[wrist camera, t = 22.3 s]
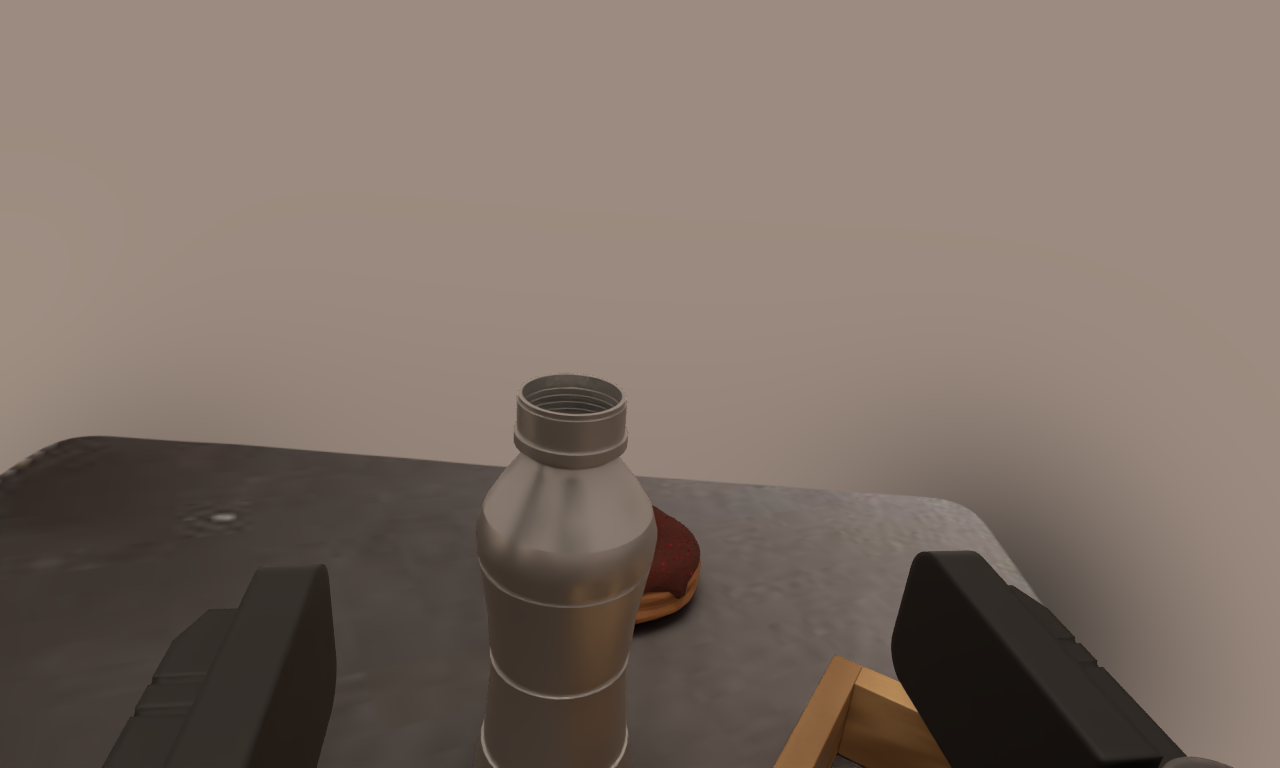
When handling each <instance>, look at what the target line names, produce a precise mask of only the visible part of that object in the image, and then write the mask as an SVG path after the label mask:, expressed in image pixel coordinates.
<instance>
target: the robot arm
mask: <svg viewBox="0 0 1280 768" xmlns="http://www.w3.org/2000/svg"><path fill="white" fill-rule="evenodd" d="M891 652H892V660H893V665H894V669H895V672H896V675H897V677H898V679H899V681H900V683H901V685H902V687H903V688H904V690H905V692H906V693H907V695H908V696H909V698H910V700H911V701H912V703H913V705H914V706H915V708H916V710H917V711H918V713H919V715H920V716H921V718H922V720H923V721H924V723H925V725H926V726H927V728H928V730H929V731H930V733H931V735H932V736H933V738H934V739H935V741H936V743H937V744H938V746H939V748H940V749H941V751H942V753H943V754H944V756H945V758H946V759H947V761H948V763H949V764H950V766H951V768H1233V767H1231V766H1228V765H1226V764H1223V763H1219V762H1217V761H1213V760H1209V759H1205V758H1198V757H1187V756H1186V755H1185V754H1184V753H1183V752H1182V750H1181V749H1180V748H1179V747H1178V746H1177V745H1176V744H1175V743H1174V742H1173V741H1172V740H1171V739H1170V738H1169V737H1168V736H1167V734H1165V732H1164V731H1163V730H1162V729H1161V728H1160V727H1159V726H1158V725H1157V724H1156V723H1155V722H1154V721H1153V720H1152V719H1151V717H1150V716H1149V715H1148V714H1147V713H1146V712H1145V711H1144V710H1143V709H1142V708H1141V707H1140V706H1139V705H1138V704H1137V703H1136V702H1135V701H1134V699H1133V698H1132V697H1131V696H1130V695H1129V694H1128V693H1127V692H1126V691H1125V690H1124V689H1123V688H1122V687H1121V686H1120V685H1119V683H1118V682H1117V681H1116V680H1115V679H1114V678H1113V677H1112V676H1111V675H1110V674H1109V673H1108V672H1107V671H1106V670H1105V669H1104V668H1103V667H1098V665H1097V660H1096V659H1095V658H1094V657H1093V656H1092V655H1091V654H1090V653H1089V652H1088V651H1087V649H1086V648H1085V647H1084V646H1083V645H1082V644H1081V643H1076V642H1075V637H1074V636H1073V635H1072V634H1071V633H1070V631H1069V630H1068V629H1067V628H1066V627H1065V626H1064V625H1063V624H1062V623H1061V622H1060V621H1059V620H1058V619H1057V618H1056V617H1055V616H1054V614H1053V613H1052V612H1051V611H1050V610H1049V609H1048V608H1046V607H1045V606H1043V605H1042V604H1040V603H1038V602H1037V601H1035V600H1034V599H1032V598H1031V597H1029V596H1028V595H1026V594H1025V593H1023V592H1022V591H1020V590H1019V589H1017V588H1016V587H1014V586H1013V585H1007V584H1006V582H1005V581H1004V580H1003V579H1002V578H1001V577H1000V576H999V575H998V574H997V573H996V571H995V570H994V569H993V568H992V567H991V566H990V565H989V564H988V563H987V562H986V560H985V559H984V558H983V557H982V556H981V555H980V554H978V553H976V552H974V551H930V552H921V553H919V554H917V555H916V557H915V558H914V560H913V562H912V565H911V568H910V572H909V575H908V579H907V583H906V586H905V590H904V594H903V597H902V601H901V605H900V609H899V612H898V616H897V620H896V623H895V627H894V631H893V635H892V642H891ZM335 686H336V650H335V639H334V628H333V618H332V607H331V596H330V586H329V576H328V571H327V568H326V566H325V565H324V564H311V565H269V566H260V567H259V568H258V569H257V570H256V572H255V574H254V576H253V578H252V580H251V582H250V584H249V586H248V589H247V591H246V593H245V595H244V597H243V599H242V601H241V603H240V605H239V607H238V609H212V610H208V611H207V612H206V613H204V614H203V615H202V616H201V617H200V618H199V619H198V620H196V621H195V622H194V623H193V624H192V625H191V626H189V627H188V628H187V629H186V630H185V631H184V632H183V633H181V634H180V635H179V636H178V637H177V638H176V639H175V640H173V642H172V643H171V645H170V647H169V649H168V650H167V652H166V654H165V656H164V658H163V659H162V661H161V663H160V665H159V667H158V668H157V670H156V672H155V674H154V675H153V677H152V684H151V685H148V686H147V688H146V690H145V692H144V693H143V695H142V697H141V699H140V700H139V702H138V704H137V706H136V708H135V714H134V717H130V718H129V720H128V722H127V724H126V725H125V727H124V729H123V731H122V733H121V734H120V736H119V738H118V740H117V741H116V743H115V745H114V747H113V749H112V750H111V752H110V754H109V756H108V758H107V759H106V761H105V763H104V765H103V766H102V768H317V764H318V760H319V756H320V753H321V749H322V745H323V741H324V737H325V734H326V730H327V726H328V722H329V719H330V715H331V711H332V706H333V701H334V695H335Z"/></svg>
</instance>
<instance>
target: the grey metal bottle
mask: <svg viewBox="0 0 1280 768" xmlns="http://www.w3.org/2000/svg"><path fill="white" fill-rule="evenodd" d="M626 407H627V400H626V394H625V392H624V391H623V389H622V388H621V387H619V386H618V385H617V384H615V383H613V382H611V381H608V380H605V379H603V378H599V377H595V376H591V375H584V374H575V373H557V374H548V375H542V376H538V377H535V378H532V379H529V380H527V381H526V382H524V383H523V384H522V385H521V386H520V387H519V389H518V395H517V421H516V423H515V425H514V443H515V445H516V447H517V448H518V449H519V451H520V452H521V453H520V454H519V455H518V456H517V457H516V458H515V459H514V460H513V461H512V462H511V464H510V465H509V466H508V467H507V468H506V469H505V470H504V471H503V473H502V474H501V475H500V476H499V478H498V479H497V481H496V482H495V483H494V485H493V486H492V487H491V489H490V490H489V492H488V493H487V495H486V497H485V500H484V502H483V505H482V508H481V511H480V514H479V516H478V519H477V522H476V539H477V553H478V556H479V564H480V570H481V576H482V582H483V588H484V594H485V600H486V605H487V611H488V625H489V645H490V666H491V669H490V677H489V685H488V693H487V702H486V710H485V718H484V721H483V724H482V728H481V731H480V734H479V738H478V741H477V747H476V752H475V757H474V763H473V768H632V765H631V748H630V740H629V735H628V729H627V724H626V672H627V666H628V661H629V651H630V649H631V643H632V637H633V631H634V625H635V619H636V616H637V612H638V609H639V606H640V602H641V599H642V595H643V592H644V588H645V585H646V581H647V578H648V575H649V571H650V568H651V563H652V561H653V558H654V552H655V547H656V542H657V526H656V521H655V516H654V512H653V508H652V505H651V502H650V499H649V498H648V496H647V495H646V493H645V491H644V490H643V488H642V486H641V485H640V483H639V482H638V480H637V479H636V477H635V476H634V474H633V473H632V472H631V470H630V469H629V468H628V467H627V465H626V464H625V463H624V462H623V461H622V459H621V458H620V457H619V456H621V455H622V454H623V453H624V451H625V450H626V448H627V441H628V431H627V428H626V426H625V424H626Z"/></svg>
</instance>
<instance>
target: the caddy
mask: <svg viewBox="0 0 1280 768" xmlns="http://www.w3.org/2000/svg"><path fill="white" fill-rule="evenodd" d="M837 753H838V754H840V755H842V756H844V757H846V758H848V759H850V760H852V761H854V762H856V763H858V764H860V765H862V766H864V767H866V768H951V766H950V764H949V763H948V761H947V759H946V758H945V756H944V754H943V753H942V751H941V749H940V748H939V746H938V744H937V743H936V741H935V739H934V738H933V736H932V735H931V733H930V731H929V730H928V728H927V726H926V725H925V723H924V721H923V720H922V718H921V716H920V715H919V713H918V711H917V710H916V708H915V706H914V705H913V703H912V701H911V700H910V698H909V696H908V695H907V693H906V692H905V690H904V688H903V687H902V685H901V683H900V682H898V681H896V680H893V679H891V678H889V677H887V676H884V675H882V674H880V673H878V672H875V671H873V670H871V669H868V668H866V667H862V666H861V665H858V664H856V663H854V662H852V661H849V660H847V659H845V658H843V657H840V656H838V655H834V657H833V659H832V660H831V662H830V664H829V666H828V668H827V670H826V671H825V673H824V675H823V677H822V679H821V681H820V682H819V684H818V686H817V688H816V690H815V692H814V693H813V695H812V697H811V699H810V701H809V703H808V704H807V706H806V708H805V710H804V712H803V713H802V715H801V717H800V719H799V721H798V723H797V724H796V726H795V728H794V730H793V732H792V734H791V735H790V737H789V739H788V741H787V743H786V745H785V746H784V748H783V750H782V752H781V754H780V756H779V757H778V759H777V761H776V763H775V765H774V766H773V768H831V766H832V763H833V761H834V759H835V757H836V755H837Z"/></svg>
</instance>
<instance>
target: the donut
mask: <svg viewBox="0 0 1280 768" xmlns="http://www.w3.org/2000/svg"><path fill="white" fill-rule="evenodd" d="M652 508H653V512H654V516H655V521H656V526H657V542H656V547H655V552H654V558H653V561H652V563H651V568H650V571H649V575H648V578H647V581H646V585H645V588H644V592H643V595H642V599H641V602H640V606H639V609H638V612H637V616H636V619H635V624H639V623H643V622H647V621H651V620H655V619H658V618H661V617H664V616H666V615H669V614H672V613H674V612H676V611H678V610H679V609H681V608H682V607H683V606H684V605H686V604H687V603H688V602H689V601H690V599H691V598H692V596H693V594H694V592H695V590H696V588H697V585H698V581H699V575H698V574H699V571H700V566H701V562H700V549H699V545H698V543H697V541H696V539H695V537H694V535H693V534H692V533H691V531H689V530H688V529H689V528H688V529H687V528H686V527H685V526H684V525H683V524H681V523H680V522H678V521H677V520H675V519H674V518H672V517H670V516H668V515H667V514H665V513H664V512H662V511H661V510H659V509H658V508H656V507H654V506H653V505H652Z"/></svg>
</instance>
